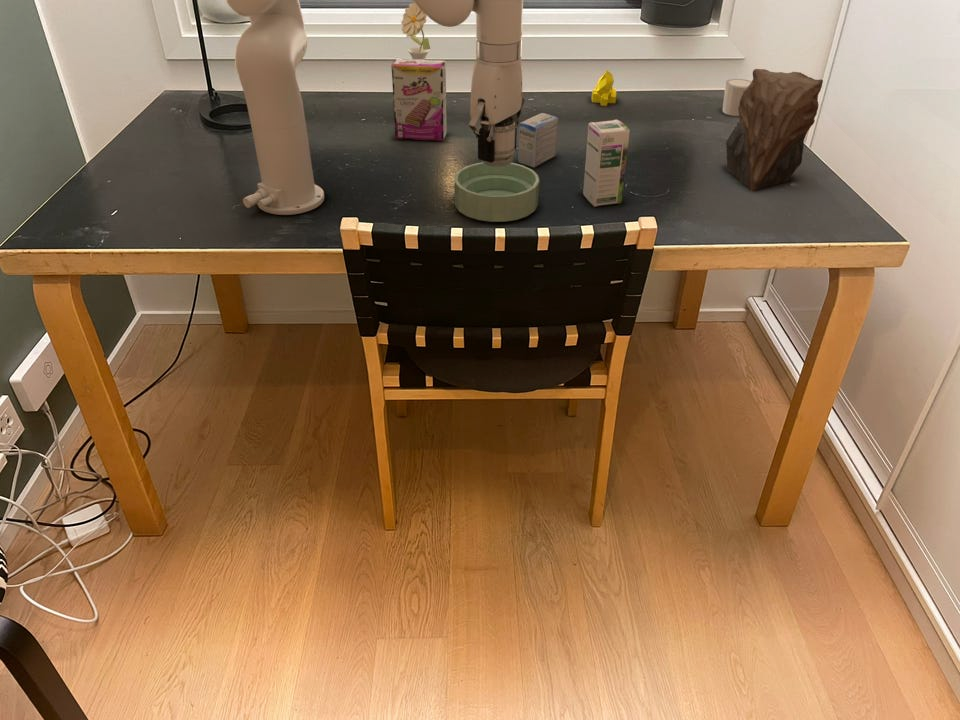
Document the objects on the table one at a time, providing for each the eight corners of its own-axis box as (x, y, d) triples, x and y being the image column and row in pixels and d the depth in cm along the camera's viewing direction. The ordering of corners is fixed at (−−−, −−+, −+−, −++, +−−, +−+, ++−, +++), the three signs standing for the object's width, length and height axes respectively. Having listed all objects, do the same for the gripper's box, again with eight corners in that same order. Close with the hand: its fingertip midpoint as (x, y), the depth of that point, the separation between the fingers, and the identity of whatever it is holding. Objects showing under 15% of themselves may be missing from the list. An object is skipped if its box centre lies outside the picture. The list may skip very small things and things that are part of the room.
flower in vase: (393, 103, 186) (386, -6, 171) (437, 99, 189) (434, -9, 174) (405, 121, 176) (398, 7, 161) (451, 116, 179) (449, 3, 164)
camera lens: (476, 165, 134) (476, 122, 129) (484, 152, 139) (484, 110, 134) (510, 169, 133) (511, 125, 128) (517, 155, 138) (518, 113, 133)
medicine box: (539, 151, 162) (541, 112, 157) (556, 156, 160) (558, 116, 155) (517, 163, 157) (518, 122, 152) (534, 168, 155) (536, 127, 150)
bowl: (508, 232, 133) (509, 204, 129) (438, 210, 140) (437, 182, 136) (552, 201, 143) (554, 174, 140) (485, 181, 150) (485, 155, 147)
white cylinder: (714, 109, 184) (719, 80, 179) (736, 105, 186) (742, 76, 182) (732, 118, 179) (738, 88, 174) (755, 114, 181) (761, 85, 177)
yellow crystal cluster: (614, 95, 192) (618, 64, 187) (615, 106, 185) (619, 74, 181) (591, 94, 192) (594, 63, 187) (591, 105, 186) (595, 73, 181)
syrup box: (593, 207, 141) (601, 132, 132) (581, 194, 145) (588, 120, 137) (621, 203, 142) (631, 129, 133) (608, 190, 147) (617, 117, 138)
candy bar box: (395, 140, 167) (389, 64, 157) (399, 132, 171) (394, 57, 161) (444, 142, 166) (442, 66, 156) (447, 134, 170) (445, 59, 160)
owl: (718, 166, 156) (739, 67, 144) (772, 160, 159) (796, 62, 147) (750, 191, 147) (775, 87, 135) (807, 184, 149) (836, 82, 137)
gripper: (508, 35, 132) (506, 135, 143) (449, 59, 120) (452, 165, 131) (545, 42, 128) (539, 143, 139) (488, 67, 117) (487, 175, 128)
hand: (497, 153), depth 135 cm, fingers closed on camera lens, 6 cm apart
